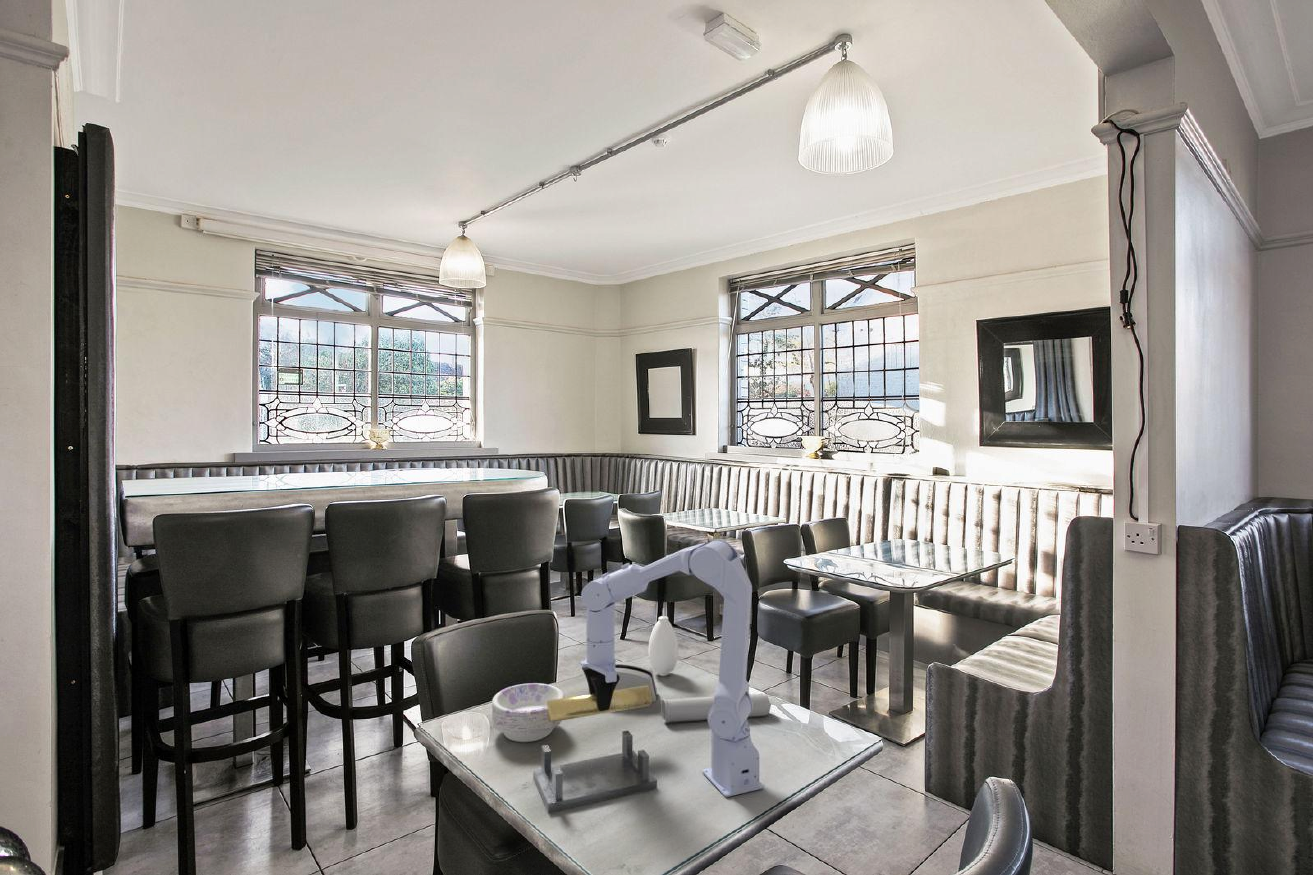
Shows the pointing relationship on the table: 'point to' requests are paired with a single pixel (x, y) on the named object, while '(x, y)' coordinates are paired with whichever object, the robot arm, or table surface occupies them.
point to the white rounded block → (635, 677)
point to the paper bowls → (524, 711)
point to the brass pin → (588, 703)
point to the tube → (704, 708)
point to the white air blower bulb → (663, 647)
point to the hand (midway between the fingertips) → (600, 705)
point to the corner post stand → (593, 777)
